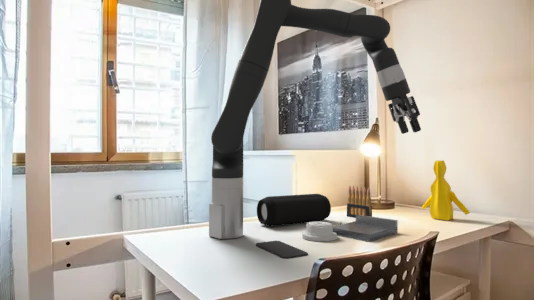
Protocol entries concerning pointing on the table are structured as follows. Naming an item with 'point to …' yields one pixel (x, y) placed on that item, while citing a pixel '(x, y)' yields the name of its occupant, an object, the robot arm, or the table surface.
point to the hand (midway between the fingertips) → (411, 132)
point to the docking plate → (367, 228)
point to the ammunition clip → (359, 202)
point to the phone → (281, 249)
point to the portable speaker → (293, 209)
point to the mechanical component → (319, 231)
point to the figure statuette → (442, 196)
